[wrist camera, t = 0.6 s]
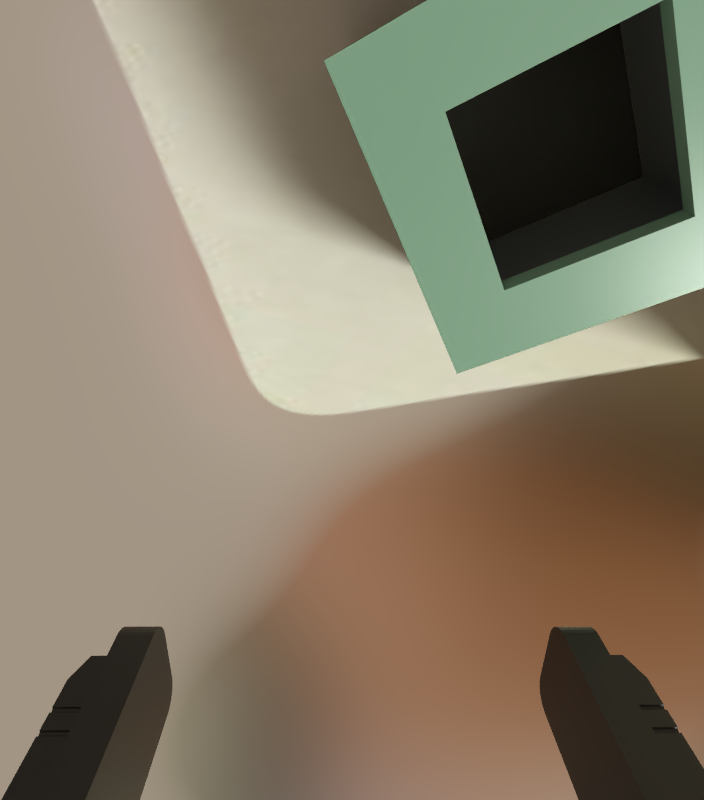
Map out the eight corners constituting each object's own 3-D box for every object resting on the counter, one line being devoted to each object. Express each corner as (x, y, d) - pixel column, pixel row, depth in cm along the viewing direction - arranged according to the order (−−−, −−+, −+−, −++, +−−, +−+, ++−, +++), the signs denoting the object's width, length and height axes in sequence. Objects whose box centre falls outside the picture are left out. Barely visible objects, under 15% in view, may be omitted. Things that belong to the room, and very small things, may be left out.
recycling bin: (348, 50, 27) (323, 60, 18) (624, -111, 23) (791, -214, 14) (438, 277, 34) (457, 373, 25) (663, 185, 30) (791, 257, 21)
